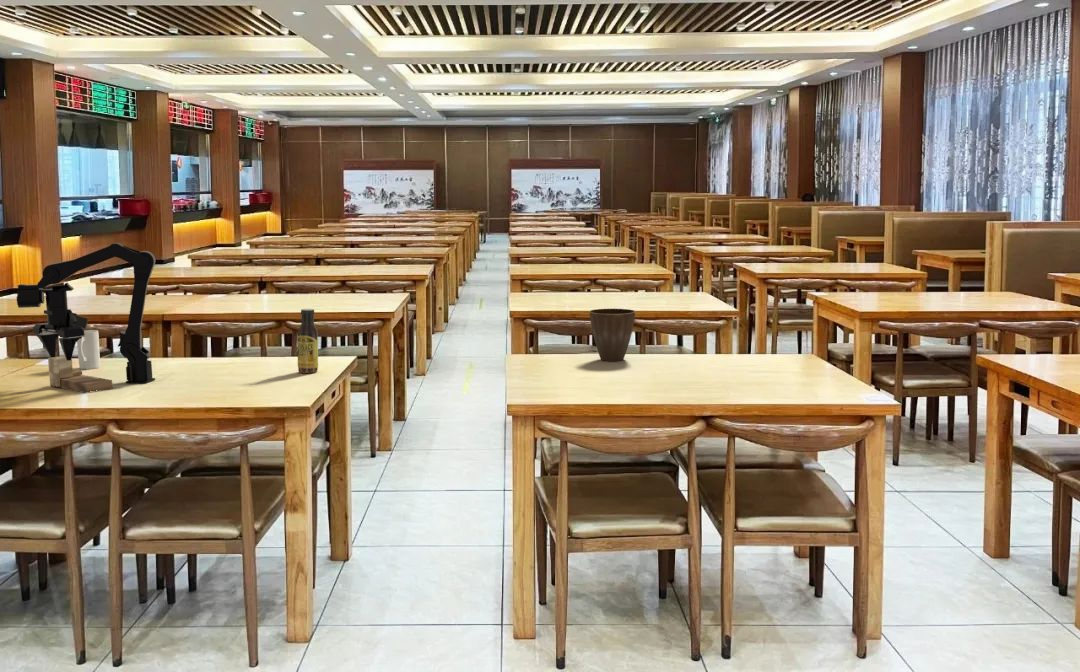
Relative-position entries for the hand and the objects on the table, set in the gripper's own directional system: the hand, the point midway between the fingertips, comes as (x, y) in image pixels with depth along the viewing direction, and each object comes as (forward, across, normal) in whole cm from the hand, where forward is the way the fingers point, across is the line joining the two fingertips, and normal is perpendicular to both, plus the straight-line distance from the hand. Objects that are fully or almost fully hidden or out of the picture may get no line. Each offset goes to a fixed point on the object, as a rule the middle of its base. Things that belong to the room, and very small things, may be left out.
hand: (60, 359), depth 321 cm
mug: (+8, +24, -21) cm, 33 cm away
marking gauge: (+8, 0, -1) cm, 8 cm away
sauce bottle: (+8, -43, -57) cm, 72 cm away
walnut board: (+8, -6, -2) cm, 10 cm away
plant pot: (+8, -109, -128) cm, 169 cm away
